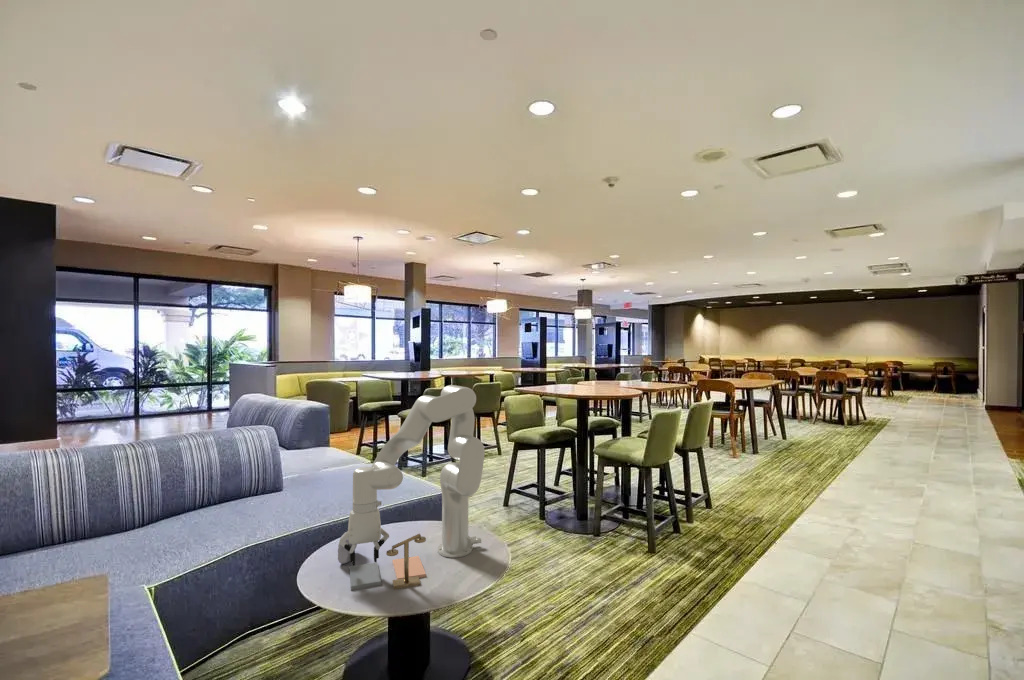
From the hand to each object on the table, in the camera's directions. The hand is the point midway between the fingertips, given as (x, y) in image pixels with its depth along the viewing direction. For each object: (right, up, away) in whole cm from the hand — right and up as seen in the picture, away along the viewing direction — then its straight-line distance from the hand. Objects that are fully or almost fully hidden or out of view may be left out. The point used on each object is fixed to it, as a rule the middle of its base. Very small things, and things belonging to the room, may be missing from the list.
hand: (364, 561), depth 155 cm
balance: (+15, -5, -5) cm, 16 cm away
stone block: (-9, -5, +13) cm, 17 cm away
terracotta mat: (+13, -5, +5) cm, 15 cm away
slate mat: (0, -5, 0) cm, 5 cm away
